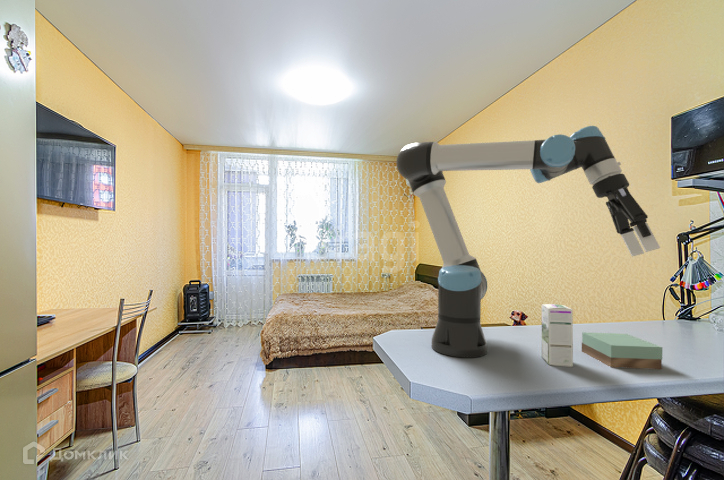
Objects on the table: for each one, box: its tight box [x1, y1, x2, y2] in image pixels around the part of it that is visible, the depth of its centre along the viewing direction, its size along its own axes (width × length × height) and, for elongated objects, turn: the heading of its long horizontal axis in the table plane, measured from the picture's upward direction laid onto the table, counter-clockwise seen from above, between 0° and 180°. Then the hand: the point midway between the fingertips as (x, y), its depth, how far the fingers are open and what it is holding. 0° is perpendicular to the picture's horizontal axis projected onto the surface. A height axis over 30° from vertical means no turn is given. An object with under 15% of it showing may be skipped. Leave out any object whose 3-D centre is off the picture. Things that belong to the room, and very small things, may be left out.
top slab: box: [581, 331, 663, 360], centre depth 87 cm, size 12×12×3 cm
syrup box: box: [541, 303, 574, 368], centre depth 85 cm, size 6×6×14 cm
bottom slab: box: [581, 342, 663, 370], centre depth 88 cm, size 12×12×3 cm
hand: (645, 252), depth 84 cm, fingers open, 13 cm apart
